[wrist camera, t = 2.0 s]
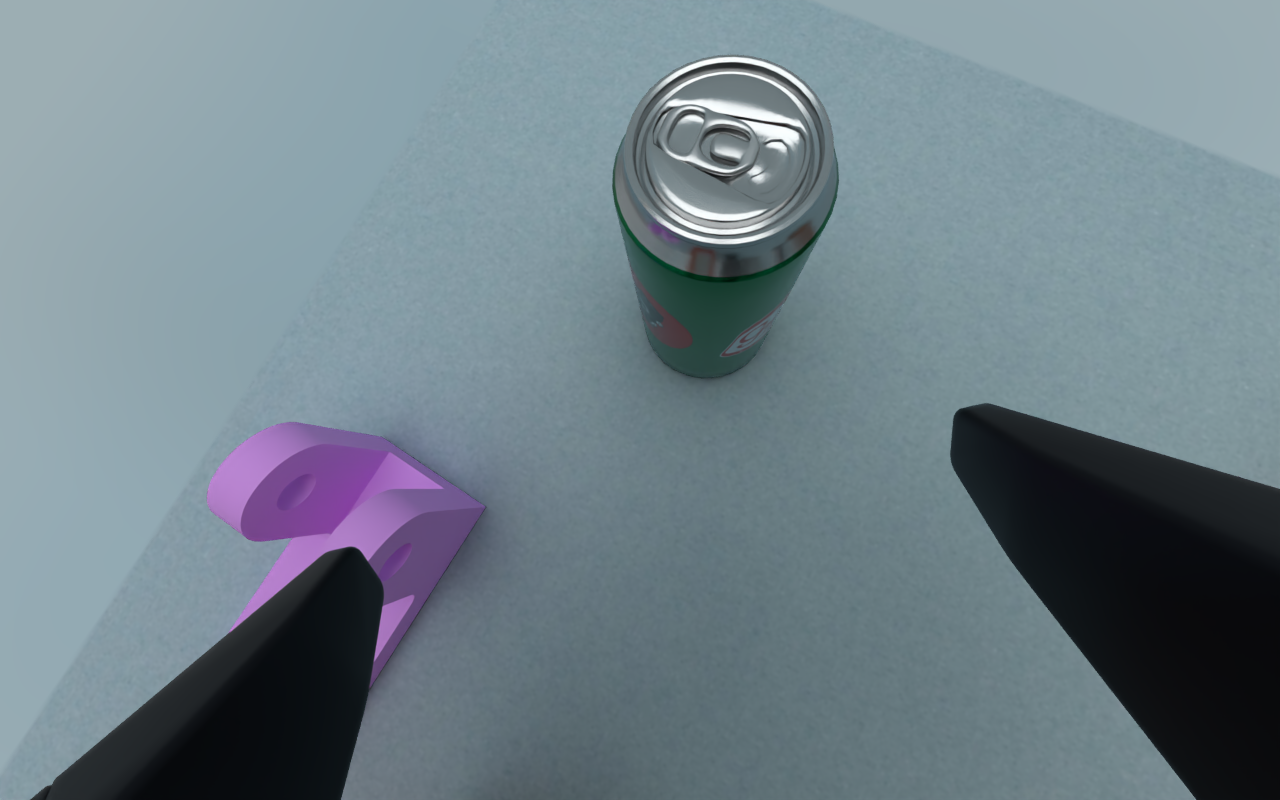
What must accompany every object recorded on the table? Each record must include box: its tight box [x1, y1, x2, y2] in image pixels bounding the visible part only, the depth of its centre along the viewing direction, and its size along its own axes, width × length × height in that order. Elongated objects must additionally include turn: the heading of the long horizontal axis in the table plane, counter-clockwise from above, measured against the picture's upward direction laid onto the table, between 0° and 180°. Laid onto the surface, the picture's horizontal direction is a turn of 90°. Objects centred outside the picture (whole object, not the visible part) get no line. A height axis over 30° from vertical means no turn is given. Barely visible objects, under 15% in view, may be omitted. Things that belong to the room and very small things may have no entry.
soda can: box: [612, 55, 839, 378], centre depth 17 cm, size 5×5×12 cm
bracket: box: [207, 422, 485, 689], centre depth 19 cm, size 13×6×7 cm, turn 148°
